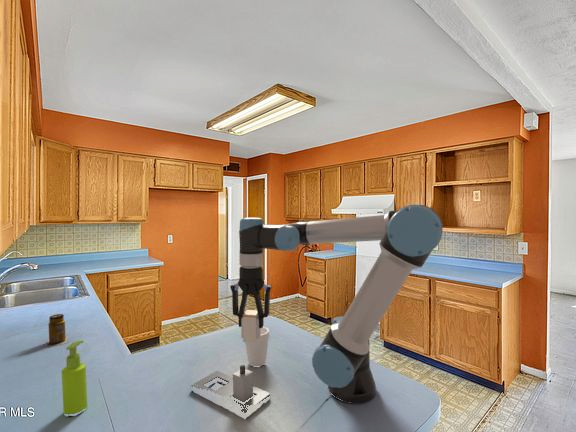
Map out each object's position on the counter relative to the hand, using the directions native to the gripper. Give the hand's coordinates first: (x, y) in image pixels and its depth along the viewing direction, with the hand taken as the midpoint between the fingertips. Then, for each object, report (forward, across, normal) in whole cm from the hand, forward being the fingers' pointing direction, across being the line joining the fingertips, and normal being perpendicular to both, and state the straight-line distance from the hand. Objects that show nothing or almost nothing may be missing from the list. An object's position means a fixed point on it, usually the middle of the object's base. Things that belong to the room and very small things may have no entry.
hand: (251, 336), depth 102 cm
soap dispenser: (+19, +50, +16) cm, 55 cm away
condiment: (+21, +98, -26) cm, 103 cm away
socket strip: (+18, +6, +5) cm, 19 cm away
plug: (+1, 0, 0) cm, 1 cm away
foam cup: (+18, +2, -15) cm, 24 cm away
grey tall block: (+17, 0, +8) cm, 19 cm away
